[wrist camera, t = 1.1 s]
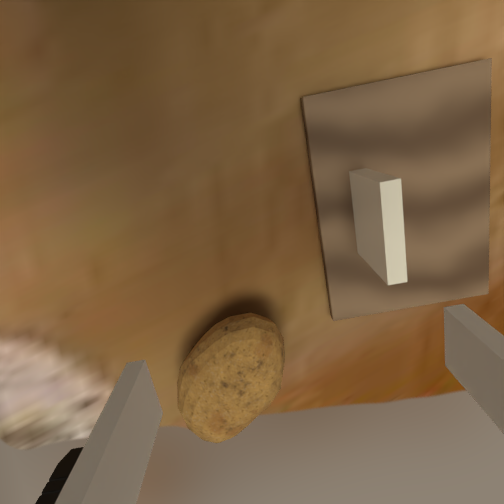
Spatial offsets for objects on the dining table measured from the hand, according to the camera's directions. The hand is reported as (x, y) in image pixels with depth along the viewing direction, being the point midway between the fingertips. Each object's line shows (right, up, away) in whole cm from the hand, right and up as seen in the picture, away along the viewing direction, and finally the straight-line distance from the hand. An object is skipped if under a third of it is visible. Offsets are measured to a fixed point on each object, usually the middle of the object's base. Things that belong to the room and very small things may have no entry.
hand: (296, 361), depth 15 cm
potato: (-4, -6, +26) cm, 27 cm away
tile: (+9, +8, +19) cm, 23 cm away
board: (+12, +9, +20) cm, 26 cm away
